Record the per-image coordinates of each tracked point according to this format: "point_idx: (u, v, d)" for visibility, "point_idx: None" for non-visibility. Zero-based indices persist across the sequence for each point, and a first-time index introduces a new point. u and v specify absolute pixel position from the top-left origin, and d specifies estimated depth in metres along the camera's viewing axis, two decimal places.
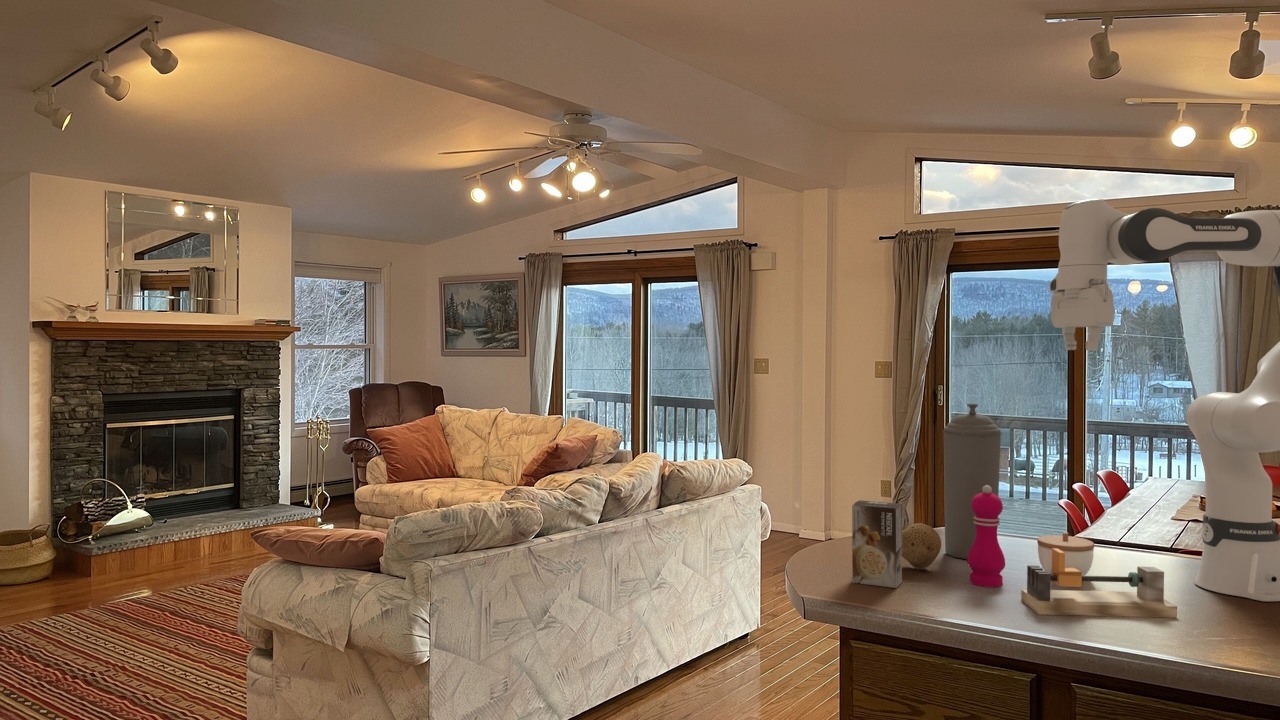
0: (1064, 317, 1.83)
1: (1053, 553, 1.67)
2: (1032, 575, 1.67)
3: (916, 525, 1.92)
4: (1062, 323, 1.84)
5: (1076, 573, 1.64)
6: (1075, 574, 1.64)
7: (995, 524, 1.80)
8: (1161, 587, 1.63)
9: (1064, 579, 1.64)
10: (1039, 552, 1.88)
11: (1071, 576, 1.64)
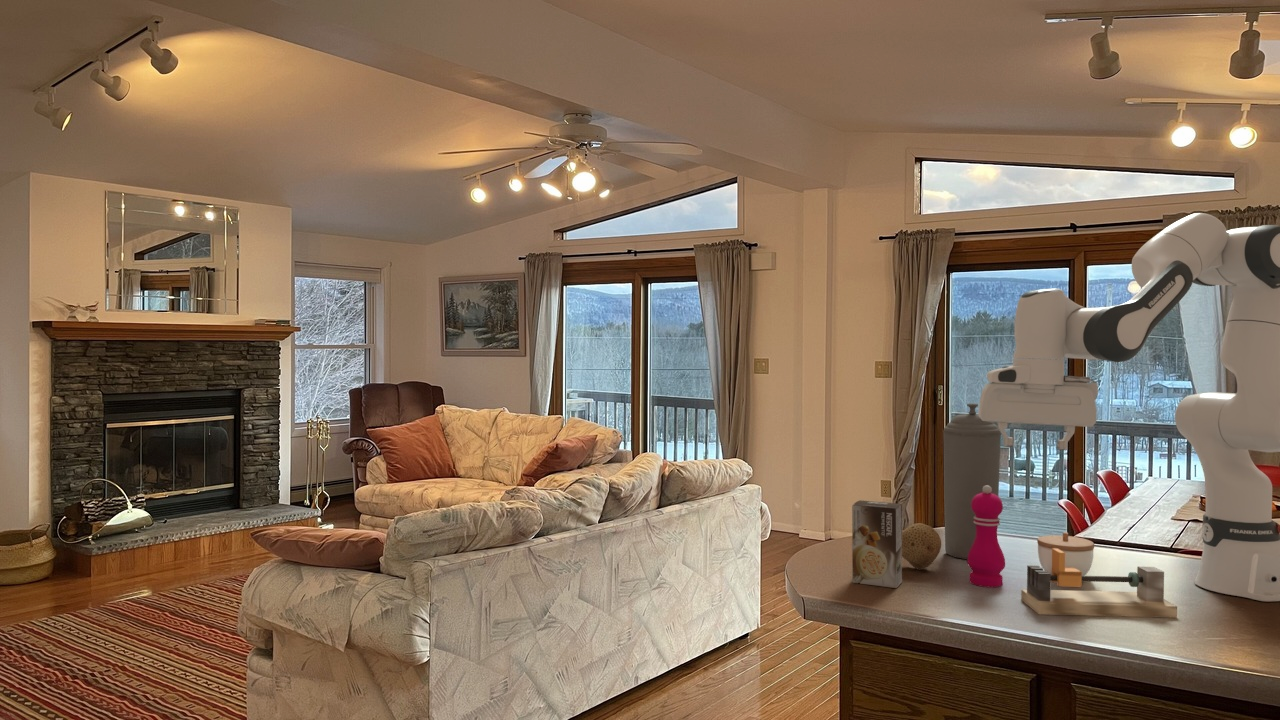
0: (1018, 412, 1.67)
1: (1053, 553, 1.67)
2: (1032, 575, 1.67)
3: (916, 525, 1.92)
4: (1013, 418, 1.68)
5: (1076, 573, 1.64)
6: (1075, 574, 1.64)
7: (995, 524, 1.80)
8: (1161, 587, 1.63)
9: (1064, 579, 1.64)
10: (1039, 552, 1.88)
11: (1071, 576, 1.64)
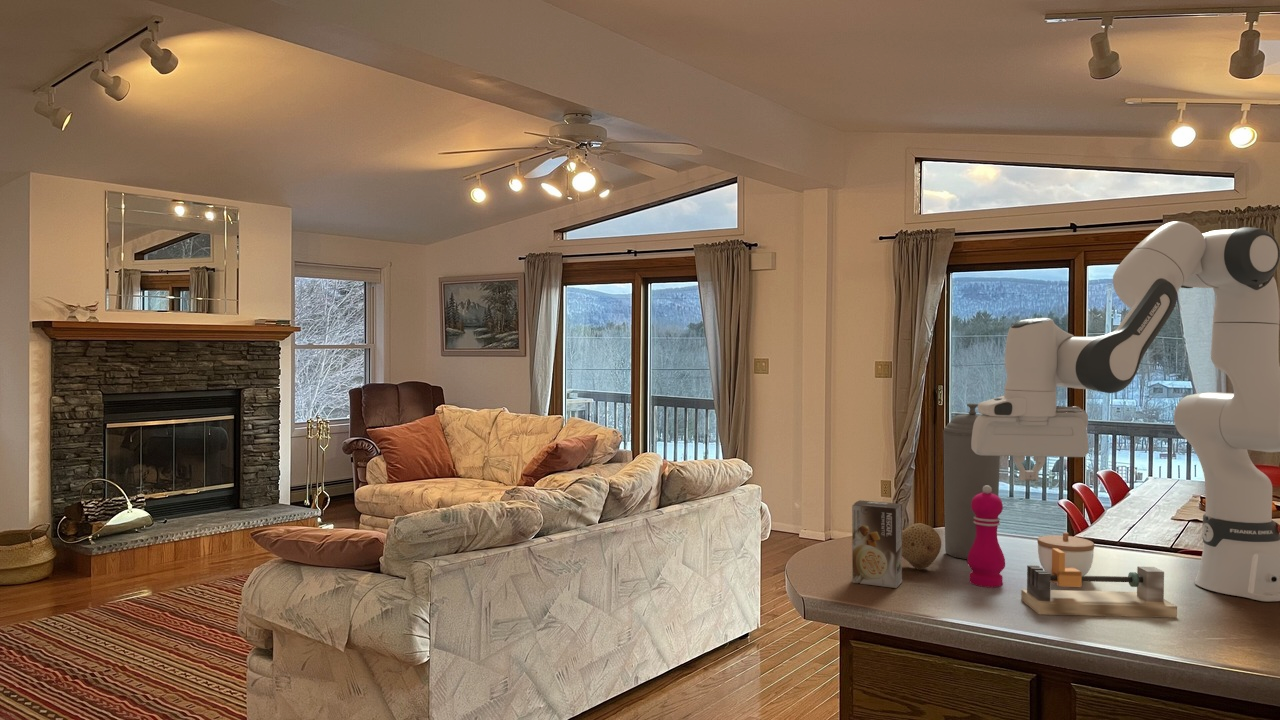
0: (1013, 445, 1.64)
1: (1053, 553, 1.67)
2: (1032, 575, 1.67)
3: (916, 525, 1.92)
4: (1008, 451, 1.64)
5: (1076, 573, 1.64)
6: (1075, 574, 1.64)
7: (995, 524, 1.80)
8: (1161, 587, 1.63)
9: (1064, 579, 1.64)
10: (1039, 552, 1.88)
11: (1071, 576, 1.64)
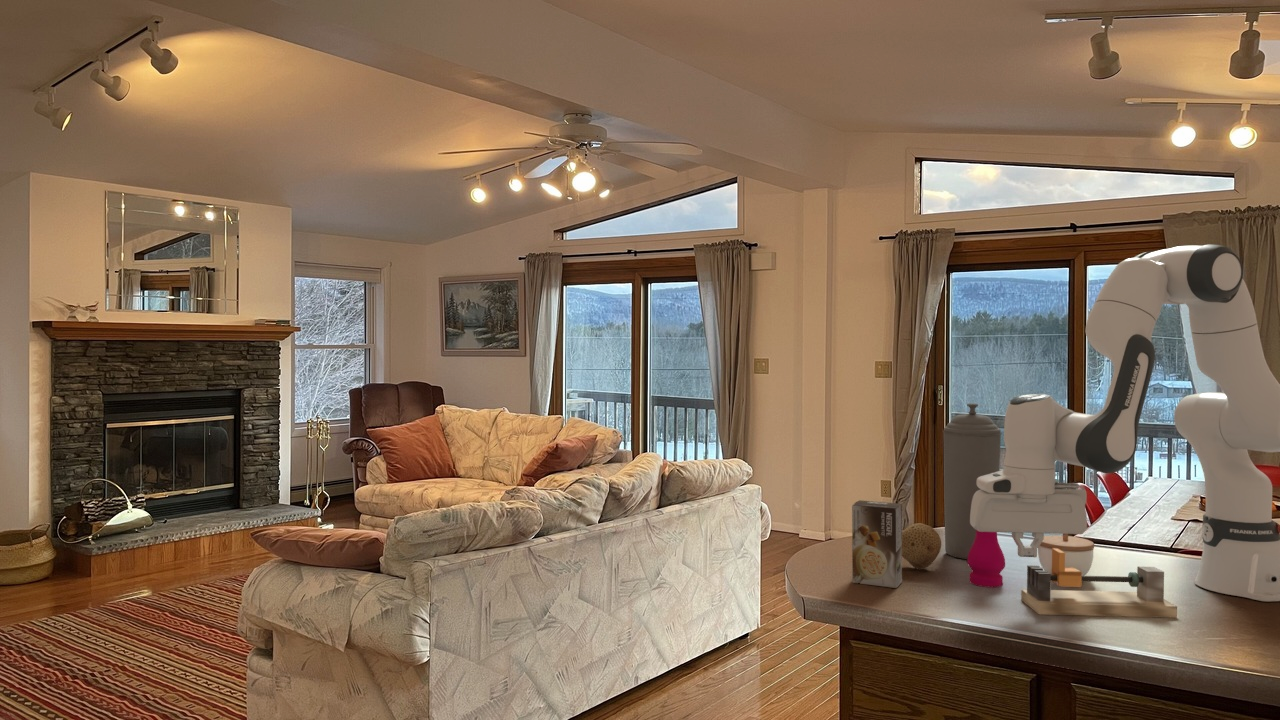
0: (1011, 521, 1.64)
1: (1053, 553, 1.67)
2: (1032, 575, 1.67)
3: (916, 525, 1.92)
4: (1007, 528, 1.64)
5: (1076, 573, 1.64)
6: (1075, 574, 1.64)
7: None
8: (1161, 587, 1.63)
9: (1064, 579, 1.64)
10: (1039, 552, 1.88)
11: (1071, 576, 1.64)
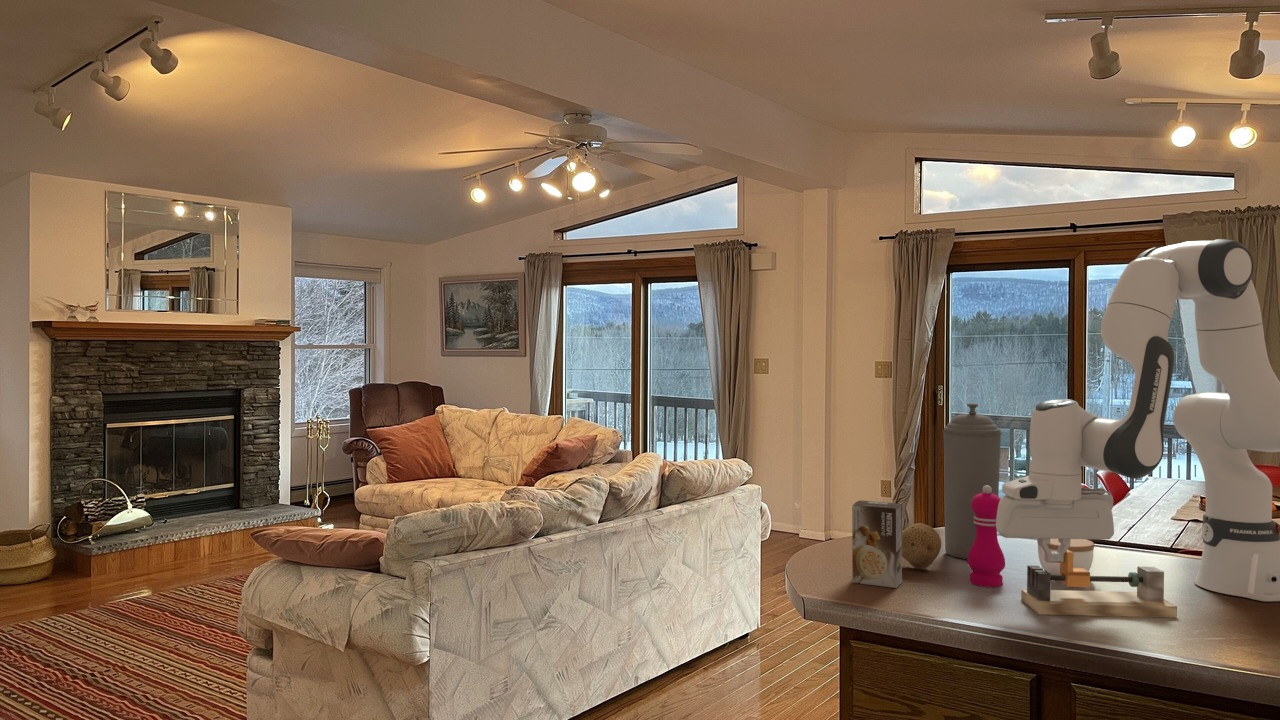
0: (1038, 528, 1.64)
1: None
2: (1032, 575, 1.67)
3: (916, 525, 1.92)
4: (1034, 534, 1.64)
5: (1084, 573, 1.64)
6: (1083, 574, 1.64)
7: (995, 524, 1.80)
8: (1161, 587, 1.63)
9: (1072, 579, 1.64)
10: (1039, 552, 1.88)
11: (1079, 576, 1.64)
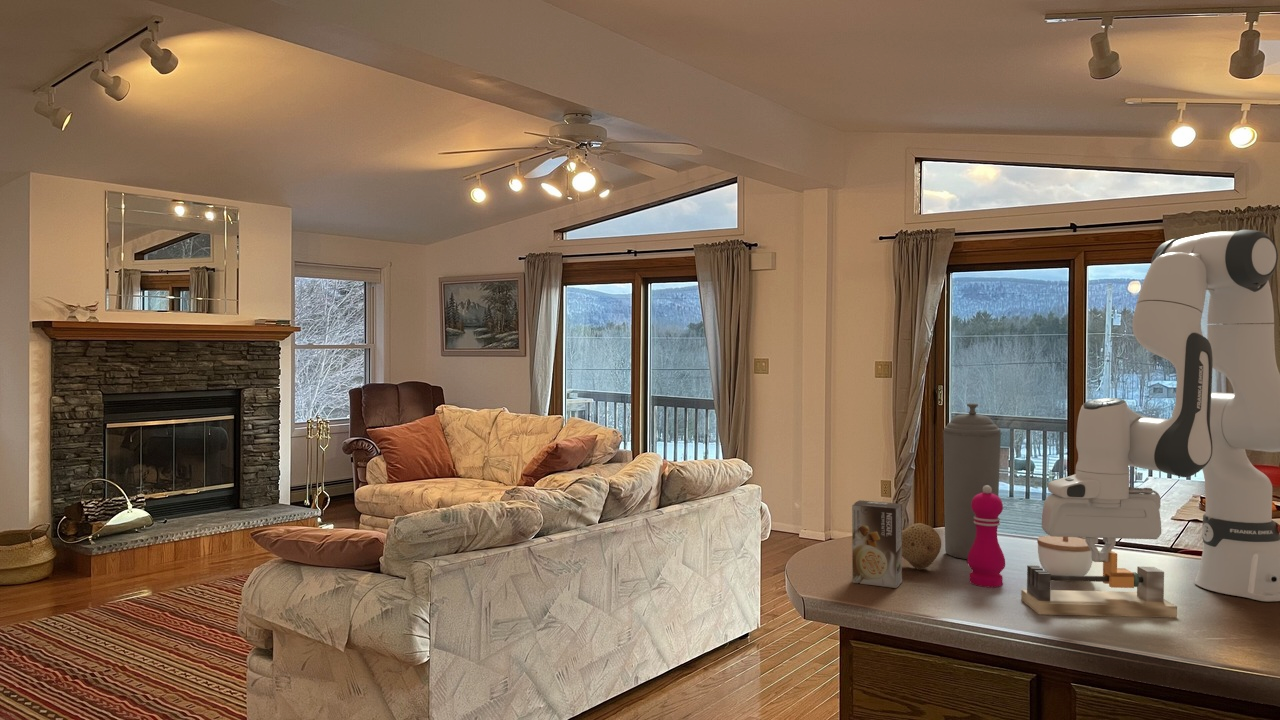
0: (1085, 526, 1.64)
1: None
2: (1032, 575, 1.67)
3: (916, 525, 1.92)
4: (1080, 533, 1.64)
5: (1128, 574, 1.63)
6: (1127, 575, 1.63)
7: (995, 524, 1.80)
8: (1161, 587, 1.63)
9: (1116, 580, 1.64)
10: (1039, 552, 1.88)
11: (1123, 577, 1.63)
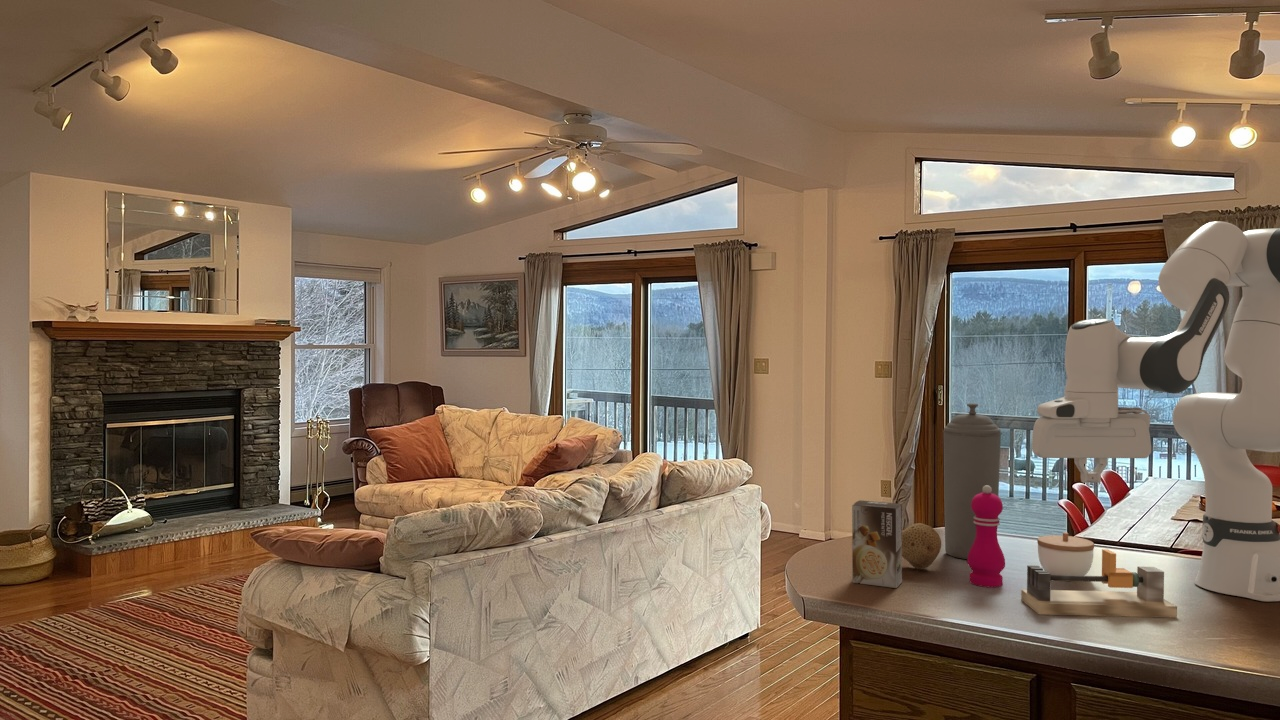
0: (1075, 447, 1.63)
1: (1103, 554, 1.66)
2: (1032, 575, 1.67)
3: (916, 525, 1.92)
4: (1070, 453, 1.64)
5: (1127, 574, 1.63)
6: (1126, 575, 1.63)
7: (995, 524, 1.80)
8: (1161, 587, 1.63)
9: (1115, 580, 1.64)
10: (1039, 552, 1.88)
11: (1122, 577, 1.64)
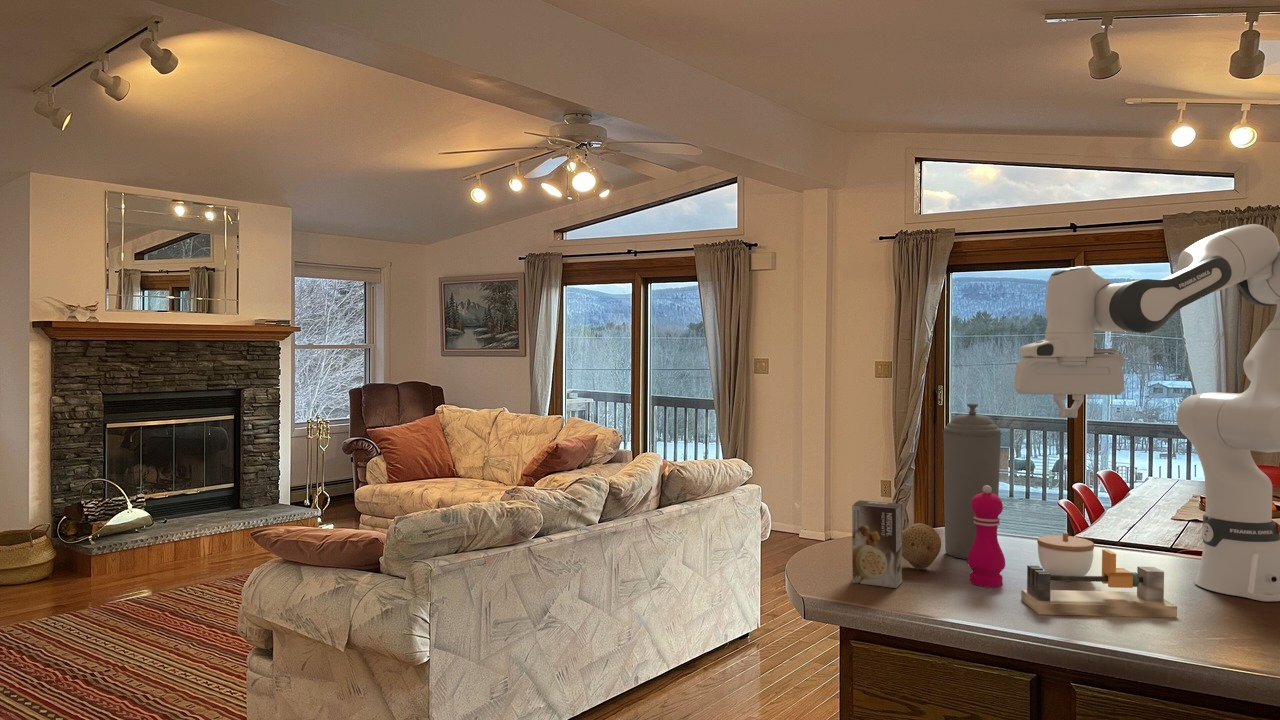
0: (1054, 384, 1.77)
1: (1103, 554, 1.66)
2: (1032, 575, 1.67)
3: (916, 525, 1.92)
4: (1049, 390, 1.77)
5: (1127, 574, 1.63)
6: (1126, 575, 1.63)
7: (995, 524, 1.80)
8: (1161, 587, 1.63)
9: (1115, 580, 1.64)
10: (1039, 552, 1.88)
11: (1122, 577, 1.64)
